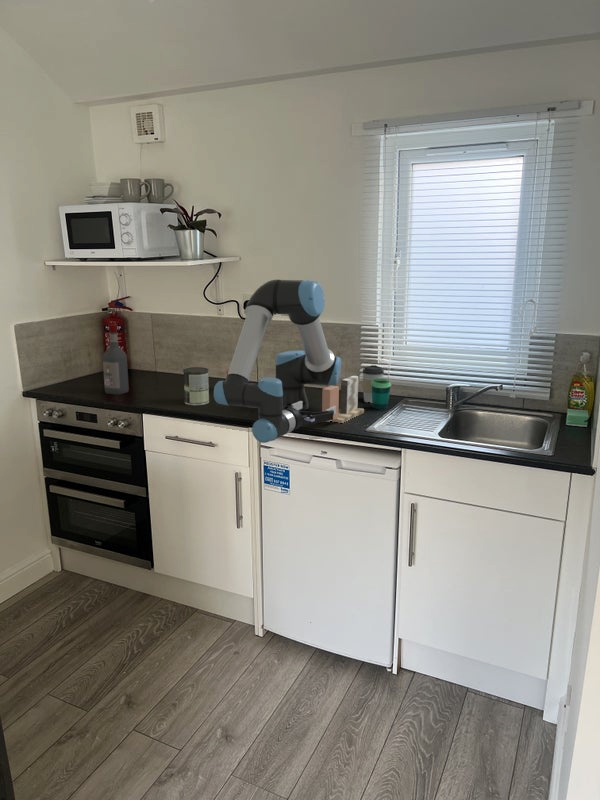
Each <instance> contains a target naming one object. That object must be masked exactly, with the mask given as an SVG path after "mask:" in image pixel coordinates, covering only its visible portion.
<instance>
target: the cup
mask: <svg viewBox="0 0 600 800" xmlns="http://www.w3.org/2000/svg"><path fill="white" fill-rule="evenodd" d="M371 385H372V402H373V403H372V408H373V409H374V408H375V410H380V409H383V410H386V409H387V408H388V404H389V399H390V395H391V387H392V383H391V382H390V379H388V378H384V377H383V378H377V379H374V380H373V381H372V383H371Z"/></svg>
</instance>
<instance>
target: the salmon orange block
mask: <svg viewBox="0 0 600 800" xmlns="http://www.w3.org/2000/svg"><path fill="white" fill-rule="evenodd" d="M321 395H322V398H321V402H322V403H321V408H322V409H321V411H325V410H327V409H329V408H331V407H333V406H336V414H334V415H333V420H334V419H336V418H338V410H339V409H340V408H339V407H340V405H339V404H340V403H339V401H340V386H337V385H336V386H332V385H331V386H325V387H323V388H322V393H321ZM330 421H332V420H329V421H326V422H329V423H331V422H330Z"/></svg>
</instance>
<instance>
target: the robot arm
mask: <svg viewBox="0 0 600 800" xmlns="http://www.w3.org/2000/svg"><path fill="white" fill-rule="evenodd" d="M325 303H326V301H325V293H324V290H323V287H322V285H321V284H320V283H319V282H317V281H315V280H308V279H305V280H304V279H303V280H302V279H300V280H299V279H292V280H291V279H272V280H269V281H266V282H264V283H263V284H262V285H261V286H259V287H258V288H257V289H256V290H255V291H254V293H252V295H251V297H250V298H249V300H248V301H247V304H246V306H245V309H244V314H245V315H246V316H245V319H244V323H243V325H242V329H241V332H240V334H239V338H238V341H237V343H236V347H235V349H234V352H233V356H232V358H231V362H230V365H229V369H228V370H229V371H228V374H227V373H226V377H225V380H219V381H217V382H216V384H215V385H214V388H213V398H214V400H215V402H216V403H217V404H220V405H222V406H228V407H230V406H232V407H233V406H234V407H243V408H244V407H245V408H252V409H258V410H257V411H258V412H257V413H258V419H257V420H256V421H255V422H253V425H252V428H251V432H252V435H253V437H254V439H255V440H256V441H257V442H259V443H263V444H266V443H269V442H272V441H276V439H278V438H280V437H283V436H285V435H286V434H288V433H291V432H293V431H296V430H297V429H299V428H300V427H301V426H302V424H304V423H309V425H313V424H317V423H322V422H327V421H329V420H333V415H334V414H336V406H333V407H331V408H329V409H327V410H325V411H322V410H321V411H309V410H308V409H309V400H308V396H307V395H306V394H307V393H306V390H305V385H310V386H321V387H329V386H331V385H332V386H337V385H338V383H339V380H340V376H341V372H342V371H341V370H342V358H341V357H338V356H335V354H334V352H333V351H332V349H331V350H330V349H329V348H328V344H327V343H328V342H327V341H326V337H325V333H324V331H323V325H322V323H321V319H320V316H321V315H322V314H323V312H324V310H325ZM275 315H287V316H288V318H289V320H290V321H291V323H293V324H294V325H296V328H297V331H298V335H299V338H300V340H301V343H302V346H303V349H304V350H299V349H298V350H288V351H283V352H280V353H277V355H276V356H275V377H262V378H260V379H259V380H258V382H257V383H250V380H251V377H252V374H253V371H254V367H255V366H256V361H257V357H258V355H259V352H260V349H261V347H262V346H261V345H262V342H263V339H264V336H265V332H266V331H267V330H266V329H267V326H268V323H270V322H272V320H273V316H275Z"/></svg>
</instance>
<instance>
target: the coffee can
mask: <svg viewBox="0 0 600 800" xmlns="http://www.w3.org/2000/svg"><path fill="white" fill-rule="evenodd" d="M182 372H183V387H184V388H183V390H184V404H185V405H188V406H203V405H206V404H209V403H210V394H209V393H210V391H209V387H210V386H209V368H207V367H203V366H202V367H201V366H199V367H198V366H197V367H195V366H194V367H193V366H192V367H187V368H183V371H182Z"/></svg>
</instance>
